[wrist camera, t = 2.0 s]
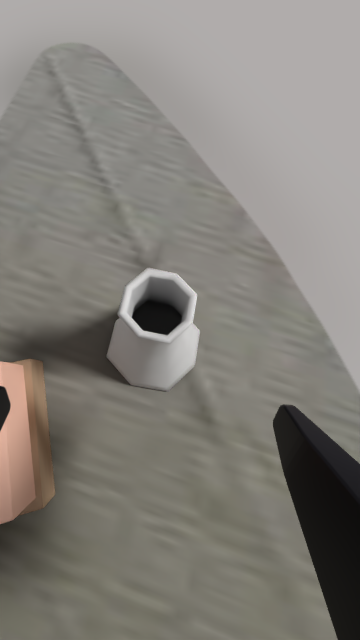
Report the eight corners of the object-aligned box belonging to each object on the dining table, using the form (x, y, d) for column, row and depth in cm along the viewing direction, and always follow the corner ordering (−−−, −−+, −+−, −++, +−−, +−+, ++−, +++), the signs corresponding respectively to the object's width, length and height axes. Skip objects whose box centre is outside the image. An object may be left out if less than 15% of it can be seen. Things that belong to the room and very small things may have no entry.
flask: (90, 361, 19) (25, 336, 9) (139, 286, 21) (128, 200, 11) (172, 408, 18) (196, 433, 9) (213, 327, 20) (269, 276, 11)
